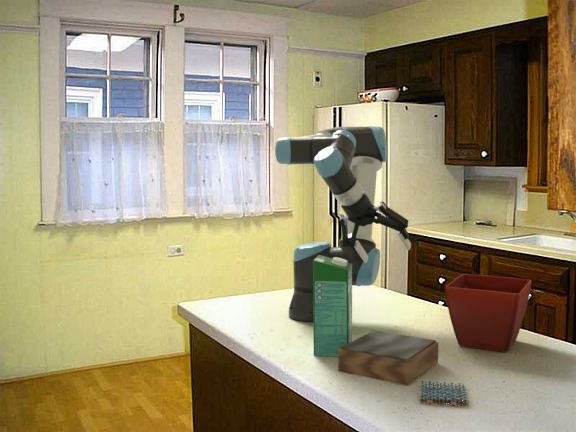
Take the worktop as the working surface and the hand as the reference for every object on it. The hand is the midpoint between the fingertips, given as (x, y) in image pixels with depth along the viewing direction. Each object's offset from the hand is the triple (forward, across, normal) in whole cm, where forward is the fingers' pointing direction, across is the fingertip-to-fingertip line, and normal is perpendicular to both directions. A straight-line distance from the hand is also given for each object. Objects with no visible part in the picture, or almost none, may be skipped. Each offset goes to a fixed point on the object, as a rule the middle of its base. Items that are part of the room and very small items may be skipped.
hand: (387, 253), depth 191 cm
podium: (+5, +3, -38) cm, 38 cm away
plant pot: (+27, +19, -16) cm, 36 cm away
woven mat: (+3, +18, -52) cm, 55 cm away
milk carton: (+4, -14, -30) cm, 33 cm away
